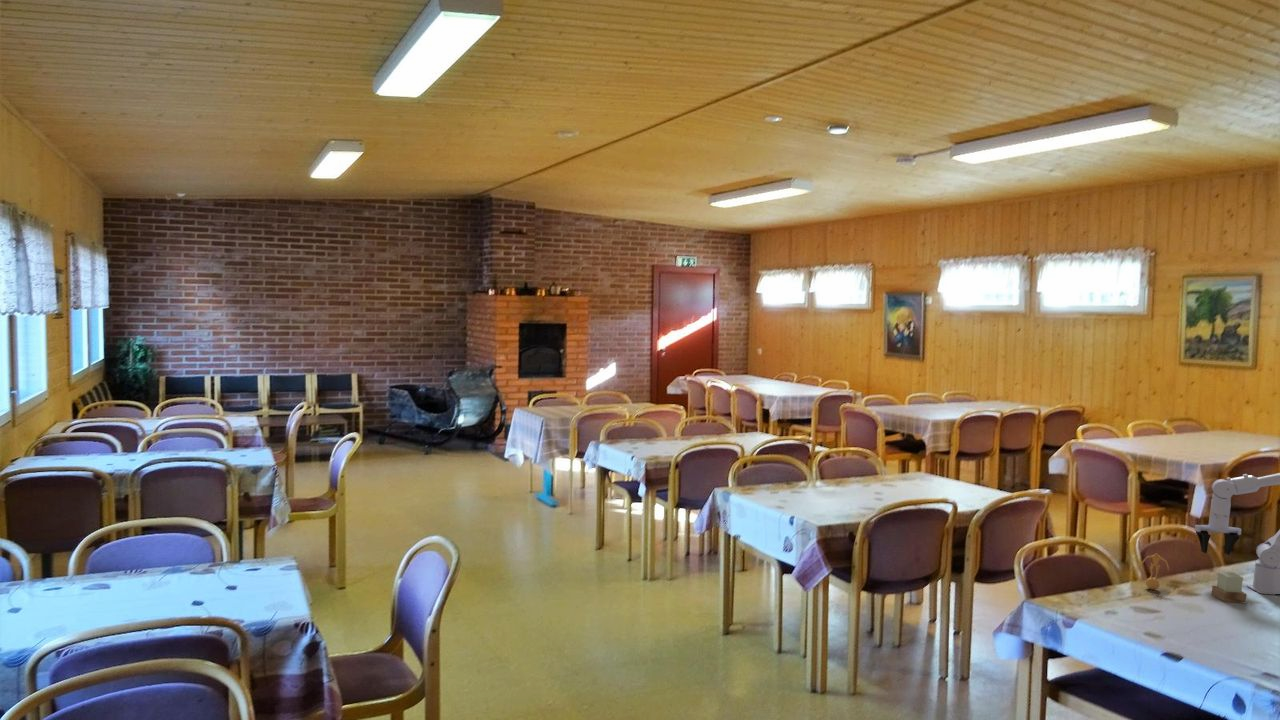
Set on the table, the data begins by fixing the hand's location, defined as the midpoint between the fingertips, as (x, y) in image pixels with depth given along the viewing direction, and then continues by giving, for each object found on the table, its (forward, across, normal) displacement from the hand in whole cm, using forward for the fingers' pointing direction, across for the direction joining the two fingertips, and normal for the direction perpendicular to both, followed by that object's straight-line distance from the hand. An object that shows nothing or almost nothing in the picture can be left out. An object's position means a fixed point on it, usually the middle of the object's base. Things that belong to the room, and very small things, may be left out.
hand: (1215, 553), depth 317 cm
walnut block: (+10, -4, -18) cm, 21 cm away
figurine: (+11, -26, -12) cm, 30 cm away
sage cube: (+7, -4, -17) cm, 19 cm away
